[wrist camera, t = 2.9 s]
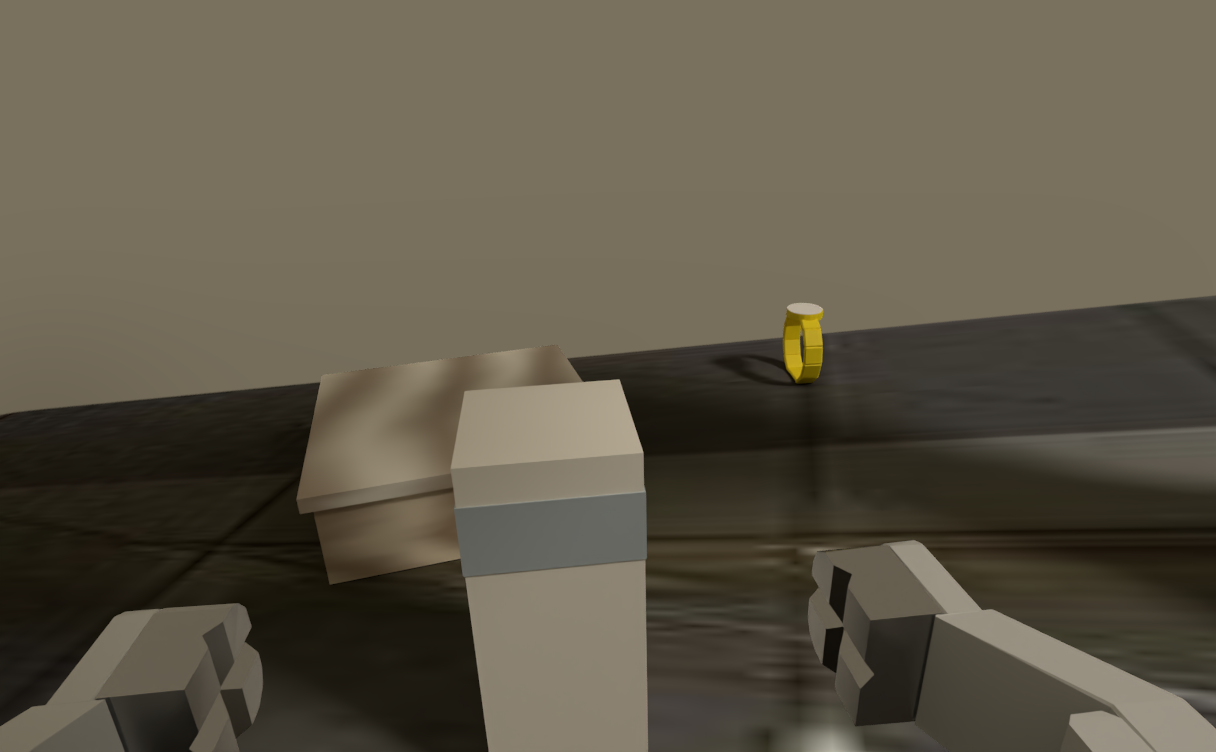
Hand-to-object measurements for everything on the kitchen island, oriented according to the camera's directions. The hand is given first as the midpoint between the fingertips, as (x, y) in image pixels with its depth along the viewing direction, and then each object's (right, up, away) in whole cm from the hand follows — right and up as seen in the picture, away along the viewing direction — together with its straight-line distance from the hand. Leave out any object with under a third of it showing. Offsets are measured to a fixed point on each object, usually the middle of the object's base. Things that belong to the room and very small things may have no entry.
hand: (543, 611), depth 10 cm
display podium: (-8, -3, +34) cm, 35 cm away
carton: (-1, -10, +18) cm, 20 cm away
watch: (+17, +3, +48) cm, 51 cm away
